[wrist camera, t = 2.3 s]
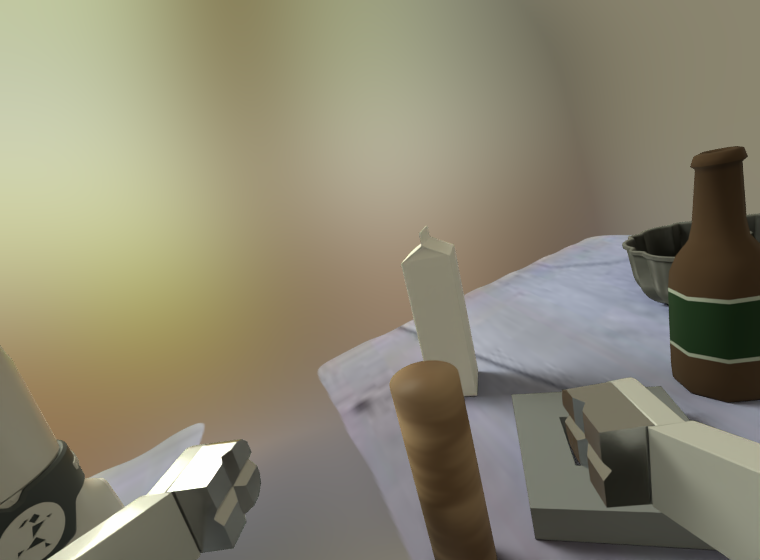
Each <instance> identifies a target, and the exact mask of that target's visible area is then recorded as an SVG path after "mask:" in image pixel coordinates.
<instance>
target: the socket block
mask: <svg viewBox="0 0 760 560" xmlns="http://www.w3.org/2000/svg"><path fill="white" fill-rule="evenodd" d="M645 388H647V389H648V390H649V391H650V392H651V393H652V394H654V395H655V396H656V397H657V398H658V399H659V400H661V401H662V402H663V403H664V404H665V405H666V406H668V407H669V408H670V409H671V410H672V411H674V412H675V413H676V414H677V415H678V416H679V417H681V418H682V419H683V420H684V421H685V422H687V421H690V420H689V419H688V418H687V416H686V415H685V414H684V413H683V412H682V411H681V409H680V408H679V407H678V406H677V405H676V403H675V402H674V401H673V400H672V399H671V398H670V396H669V395H668V394H667V393H666V392H665V391H664V389H663V388H662V387H661V386H657V387H645ZM512 401H513V407H514V413H515V419H516V425H517V431H518V437H519V443H520V449H521V455H522V461H523V467H524V473H525V479H526V485H527V491H528V497H529V503H530V509H531V515H532V521H533V527H534V533H535V539H543V540H560V541H576V542H593V543H610V544H626V545H643V546H660V547H676V548H693V549H709V550H716V549H714V548H713V547H711V546H710V545H708V544H707V543H706V542H704V541H703V540H701V539H700V538H698V537H697V536H695V535H694V534H692V533H691V532H689V531H688V530H687V529H685V528H684V527H682V526H681V525H679V524H678V523H676V522H675V521H673V520H672V519H670V518H669V517H668V516H666V515H665V514H663V513H662V512H660V511H659V510H657V509H656V508H654V507H653V504H648V505H636V506H623V507H611V508H607V507H606V506H605V504H604V502H603V501H602V499H601V498H600V496H599V494H598V493H597V491H596V490H595V488H594V486H593V485H592V483H591V481H590V476H589V469H587V468H585V467H584V466H576V465H575V462H574V459H573V456H572V453H571V450H570V447H569V445H568V443H570V442H569V439H568V436H567V431H566V425H565V420H566V419H567V417H568V416H569V414H568V412H567V411H566V409H565V408H564V406H563V402H562V392H550V393H532V394H515V395H512Z"/></svg>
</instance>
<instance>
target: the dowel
mask: <svg viewBox="0 0 760 560" xmlns="http://www.w3.org/2000/svg"><path fill="white" fill-rule="evenodd" d="M390 390H391V394H392V398H393V402H394V405H395V409H396V413H397V417H398V421H399V424H400V428H401V432H402V436H403V440H404V443H405V447H406V451H407V455H408V459H409V462H410V466H411V470H412V474H413V478H414V481H415V485H416V489H417V493H418V497H419V500H420V504H421V508H422V512H423V515H424V519H425V523H426V527H427V531H428V534H429V538H430V542H431V546H432V550H433V553H434V557H435V560H497V555H496V551H495V546H494V541H493V536H492V531H491V526H490V521H489V517H488V512H487V507H486V502H485V497H484V492H483V488H482V483H481V478H480V473H479V468H478V463H477V458H476V454H475V449H474V444H473V439H472V434H471V429H470V425H469V420H468V415H467V410H466V405H465V400H464V395H463V391H462V386H461V381H460V376H459V372H458V370H457V368H456V367H455V366H454V365H452V364H450V363H448V362H444V361H438V360H428V361H421V362H417V363H413V364H411V365H408V366H406V367H404V368H402V369H401V370H399V371H398V372H397V373H396V374H395V375H394V376H393V377H392V379H391V381H390Z"/></svg>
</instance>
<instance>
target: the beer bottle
mask: <svg viewBox="0 0 760 560" xmlns="http://www.w3.org/2000/svg"><path fill="white" fill-rule="evenodd" d="M746 157H748V156H747V153H746V151H745V148H744V147H739V146H735V147H727V148H721V149H715V150H711V151H706V152H702V153H700V154H698V155H696V156H694V157H693V160H692V163H691V166H690V167H691V168H693V169H695V178H694V196H693V211H692V213H693V214H692V225H691V230H690V235H689V239H688V241H687V242H686V244H685V245H684V246H683V247H682V249H681V250H680V251H679V252H678V254H677V255H676V256H675V258H674V261H673V263H672V265H671V268H670V270H669V280H668V300H669V325H670V349H671V366H672V374H673V377H674V378H675V379H676V380H677V381H678V382H679V383H680V384H682V385H683V386H684V387H685V388H686V389H687V390H689V391H690V392H691V393H693V394H696V395H700V396H704V397H708V398H712V399H716V400H720V401H724V402H727V403H729V402H740V401H751V400H760V243H759V242H758V241H757V240H756V239H755V238H754V237H753V236H752V235H751V234H750V230H749V226H748V222H747V217H746V204H745V190H744V176H743V163H742V161H743V160H744V159H745V158H746Z"/></svg>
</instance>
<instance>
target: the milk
mask: <svg viewBox="0 0 760 560" xmlns="http://www.w3.org/2000/svg"><path fill="white" fill-rule="evenodd" d="M419 237H420V242H421V244H420V245H419V246H417V247H416V248H415V249H414V250H413V251H412V252H411V253H410V254H409V255H408V256H407V257H406V259H405V260H404V261H403V262H402V264H401V266H402V270H403V274H404V279H405V283H406V287H407V291H408V296H409V300H410V305H411V309H412V313H413V318H414V322H415V326H416V330H417V335H418V339H419V343H420V348H421V352H422V356H423V361H428V360H438V361H444V362H448V363H450V364H452V365H454V366H455V367H456V368H457V370H458V372H459V376H460V381H461V386H462V391H463V395H464V396H477V387H478V367H477V362H476V357H475V351H474V346H473V341H472V336H471V330H470V325H469V320H468V315H467V309H466V304H465V299H464V294H463V288H462V284H461V278H460V273H459V268H458V262H457V257H456V253H455V247H454V245H453V244H451V243H448V242H445V241H442V240H439V239H437V238H434V237H431V236H430V235H429V230H428V226H425V227H424V229H423V230H422V231H421V232H420V233H419Z"/></svg>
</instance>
